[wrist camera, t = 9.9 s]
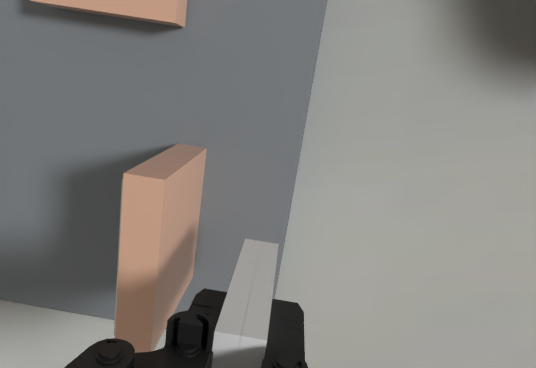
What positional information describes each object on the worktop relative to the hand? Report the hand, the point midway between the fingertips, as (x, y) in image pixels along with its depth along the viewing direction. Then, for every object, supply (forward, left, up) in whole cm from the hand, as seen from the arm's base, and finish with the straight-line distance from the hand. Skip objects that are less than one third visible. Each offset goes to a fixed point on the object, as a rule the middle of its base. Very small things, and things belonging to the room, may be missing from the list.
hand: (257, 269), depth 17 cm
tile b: (0, -5, -5) cm, 7 cm away
